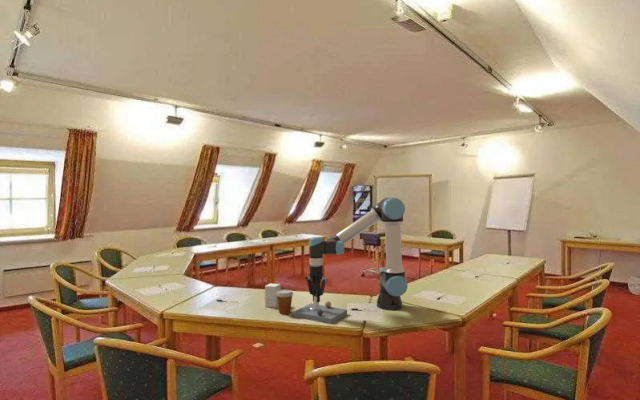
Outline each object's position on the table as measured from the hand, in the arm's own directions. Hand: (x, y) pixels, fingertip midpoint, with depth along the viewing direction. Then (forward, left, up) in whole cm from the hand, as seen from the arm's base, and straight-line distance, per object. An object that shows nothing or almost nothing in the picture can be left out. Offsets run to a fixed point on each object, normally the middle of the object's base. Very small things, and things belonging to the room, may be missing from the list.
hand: (316, 307), depth 202 cm
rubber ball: (-7, +7, 0) cm, 10 cm away
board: (-3, 0, -4) cm, 5 cm away
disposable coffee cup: (+17, +6, -4) cm, 19 cm away
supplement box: (+31, -1, -4) cm, 32 cm away
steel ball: (+3, 0, -2) cm, 3 cm away
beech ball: (-4, -7, 0) cm, 8 cm away
